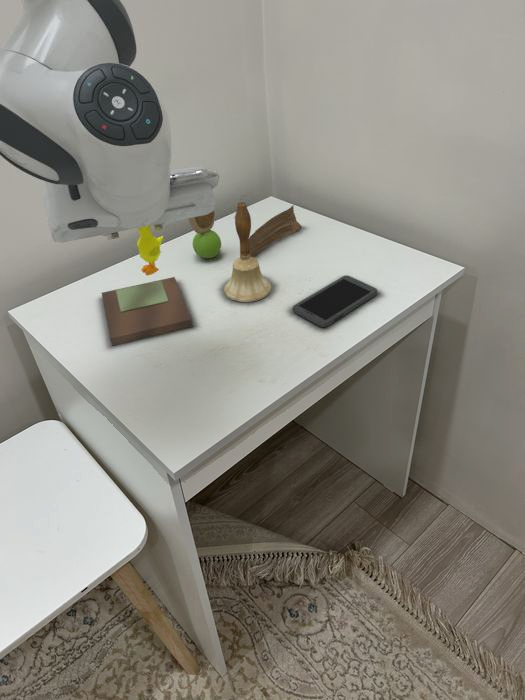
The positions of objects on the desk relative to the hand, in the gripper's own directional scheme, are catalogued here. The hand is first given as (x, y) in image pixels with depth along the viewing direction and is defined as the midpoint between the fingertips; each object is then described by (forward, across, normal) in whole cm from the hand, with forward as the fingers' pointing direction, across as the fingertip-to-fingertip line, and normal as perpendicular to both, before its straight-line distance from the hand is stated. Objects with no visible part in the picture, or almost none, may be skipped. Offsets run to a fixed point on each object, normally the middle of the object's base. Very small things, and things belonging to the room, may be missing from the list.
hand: (135, 228), depth 73 cm
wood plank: (+30, -27, -2) cm, 40 cm away
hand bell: (+20, -17, +8) cm, 27 cm away
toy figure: (+4, 0, +5) cm, 7 cm away
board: (+20, +1, +7) cm, 21 cm away
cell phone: (+13, -29, +14) cm, 35 cm away
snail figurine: (+30, -13, -2) cm, 33 cm away
